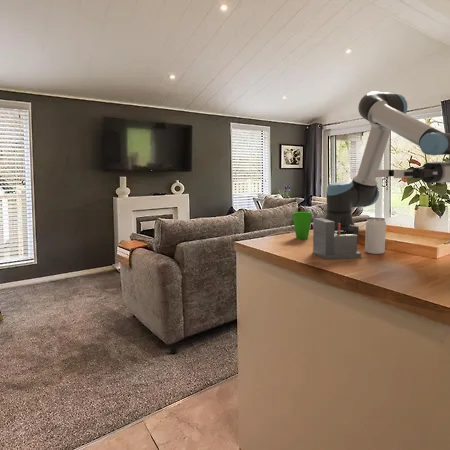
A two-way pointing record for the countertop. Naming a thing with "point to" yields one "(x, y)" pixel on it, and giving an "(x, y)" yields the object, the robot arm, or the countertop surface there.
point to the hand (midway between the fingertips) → (382, 173)
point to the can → (375, 235)
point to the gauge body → (333, 241)
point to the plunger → (350, 230)
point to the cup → (302, 224)
